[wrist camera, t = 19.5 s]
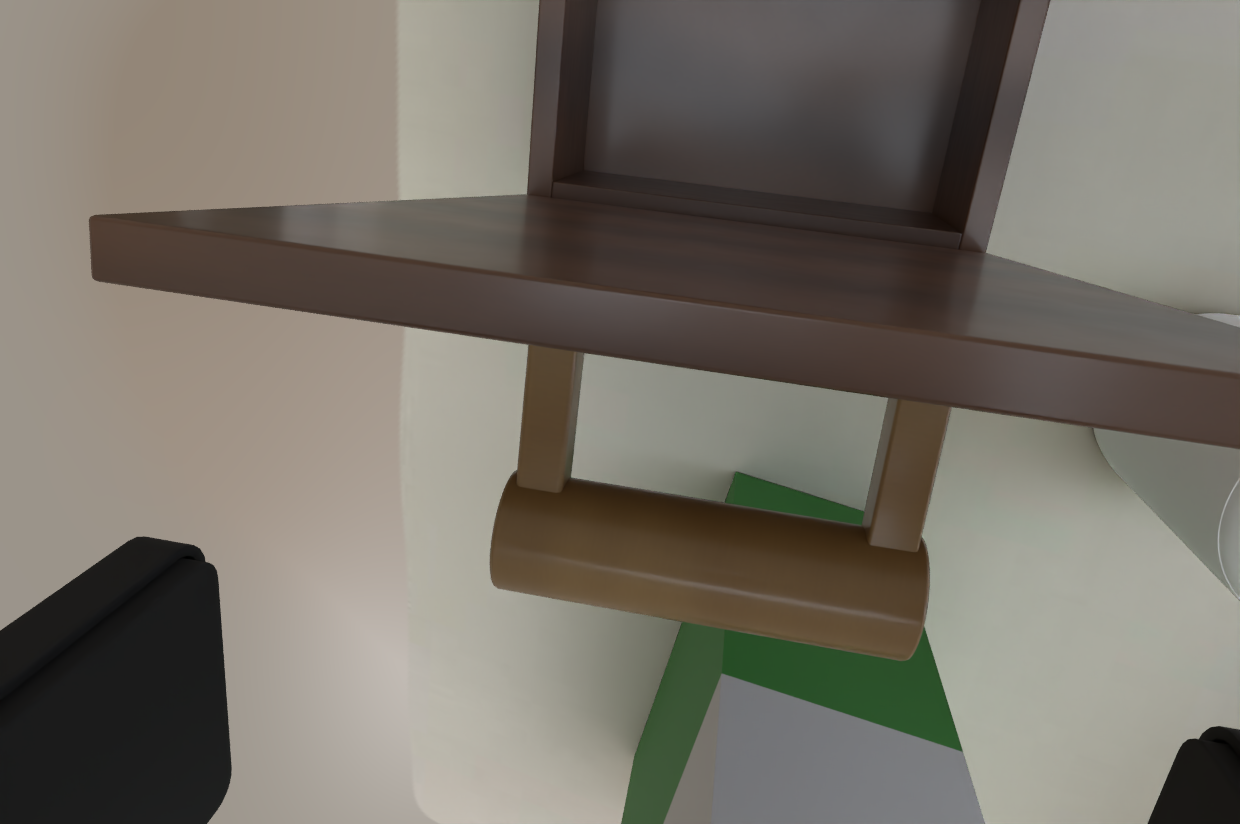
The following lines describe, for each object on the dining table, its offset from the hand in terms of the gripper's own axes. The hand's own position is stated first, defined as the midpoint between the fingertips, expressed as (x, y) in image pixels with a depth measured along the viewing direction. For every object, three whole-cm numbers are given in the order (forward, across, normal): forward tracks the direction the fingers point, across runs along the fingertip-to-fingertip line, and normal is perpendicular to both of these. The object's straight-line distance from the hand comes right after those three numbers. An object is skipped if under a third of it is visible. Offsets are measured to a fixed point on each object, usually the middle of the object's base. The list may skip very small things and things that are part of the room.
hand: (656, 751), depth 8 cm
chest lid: (+13, 0, -3) cm, 13 cm away
